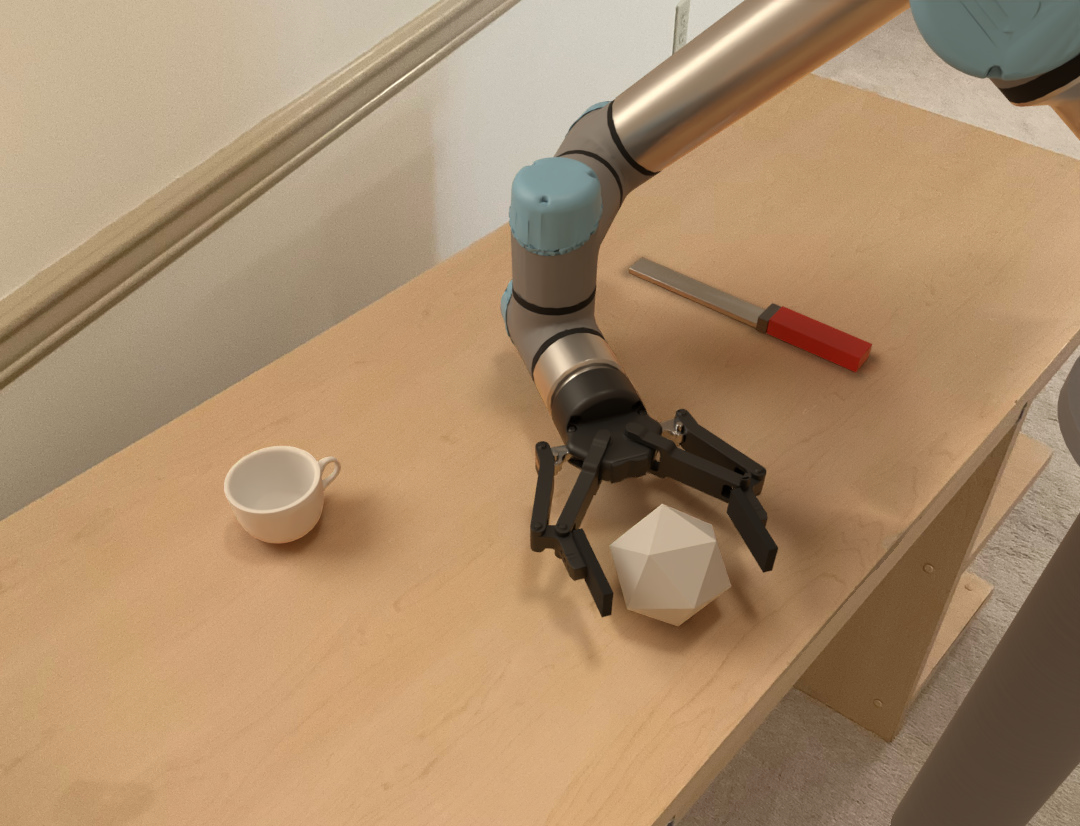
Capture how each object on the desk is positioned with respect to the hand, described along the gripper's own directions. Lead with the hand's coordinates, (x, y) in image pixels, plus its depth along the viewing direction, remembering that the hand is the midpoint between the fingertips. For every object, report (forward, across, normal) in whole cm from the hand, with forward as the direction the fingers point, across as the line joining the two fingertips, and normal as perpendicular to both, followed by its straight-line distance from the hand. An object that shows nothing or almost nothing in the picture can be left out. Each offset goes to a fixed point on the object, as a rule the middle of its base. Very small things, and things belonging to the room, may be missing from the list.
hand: (690, 583), depth 75 cm
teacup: (-21, +27, -6) cm, 35 cm away
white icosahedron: (-3, 0, -6) cm, 7 cm away
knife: (-35, -22, -6) cm, 42 cm away
